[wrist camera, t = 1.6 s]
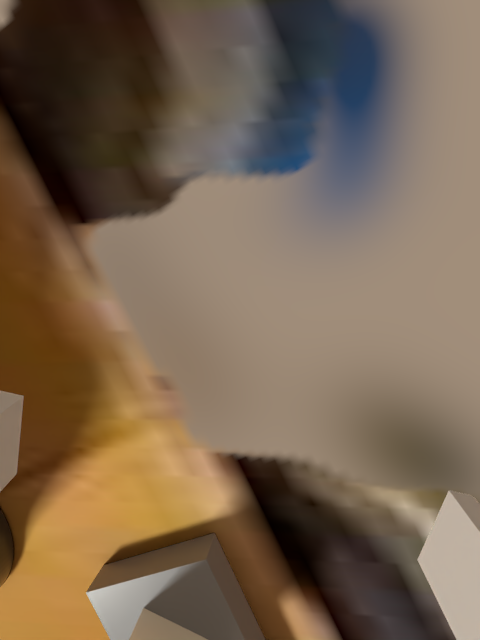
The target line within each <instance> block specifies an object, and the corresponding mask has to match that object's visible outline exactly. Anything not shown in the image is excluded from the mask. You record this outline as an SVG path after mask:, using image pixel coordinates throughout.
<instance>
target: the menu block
mask: <svg viewBox="0 0 480 640" xmlns="http://www.w3.org/2000/svg"><path fill="white" fill-rule="evenodd" d="M129 640H208V639H206V638H204V637H202V636H200V635H198V634H196V633H194V632H192V631H190V630H188V629H185V628H183V627H181V626H179V625H177V624H175V623H173V622H171V621H169V620H167V619H165V618H163V617H161V616H159V615H157V614H155V613H153V612H151V611H149V610H147V609H145V608H143V610H142V612H141V614H140V617H139V619H138V621H137V623H136V625H135V628H134V630H133V632H132V634H131V637H130V639H129Z"/></svg>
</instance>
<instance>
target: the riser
mask: <svg viewBox="0 0 480 640" xmlns="http://www.w3.org/2000/svg"><path fill="white" fill-rule="evenodd" d="M86 594H87V596H88V598H89V599H90V601H91V603H92V605H93V607H94V609H95V611H96V613H97V615H98V617H99V619H100V621H101V623H102V624H103V626H104V628H105V630H106V632H107V634H108V636H109V638H110V640H129V639H130V637H131V634H132V632H133V630H134V628H135V625H136V623H137V621H138V619H139V617H140V614H141V612H142V610H143V608H145V609H147V610H149V611H151V612H153V613H155V614H157V615H159V616H161V617H163V618H165V619H167V620H169V621H171V622H173V623H175V624H177V625H179V626H181V627H183V628H185V629H188V630H190V631H192V632H194V633H196V634H198V635H200V636H202V637H204V638H206V639H208V640H265V638H264V635H263V633H262V631H261V629H260V627H259V625H258V623H257V621H256V619H255V617H254V614H253V612H252V610H251V608H250V606H249V604H248V602H247V600H246V598H245V596H244V593H243V591H242V589H241V587H240V585H239V583H238V581H237V579H236V577H235V575H234V573H233V570H232V568H231V566H230V564H229V562H228V560H227V558H226V556H225V554H224V552H223V549H222V547H221V545H220V543H219V541H218V539H217V537H216V535H215V533H212V534H209V535H205V536H202V537H199V538H195V539H192V540H188V541H185V542H181V543H178V544H175V545H171V546H168V547H164V548H161V549H157V550H154V551H151V552H147V553H144V554H140V555H137V556H133V557H130V558H127V559H123V560H120V561H116V562H113V563H109V564H106V565H103V567H102V568H101V570H100V572H99V573H98V575H97V576H96V578H95V579H94V581H93V582H92V584H91V586H90V587H89V589H88V590H87V592H86Z"/></svg>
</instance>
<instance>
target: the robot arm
mask: <svg viewBox="0 0 480 640" xmlns="http://www.w3.org/2000/svg"><path fill="white" fill-rule="evenodd" d="M23 400H24V396H23V395H18V394H14V393H9V392H5V391H0V492H1V490H2V489H3V488H4V487H5V486H6V485H7V484H8V483H9V482H10V481H11V480H12V478H13V477H14V476H15V475H16V474H17V467H18V456H19V445H20V433H21V422H22V411H23ZM13 553H14V550H13V540H12V535H11V532H10V528H9V526H8V523H7V521H6V519H5V517H4V515H3V513H2V511H1V510H0V587H1V585H2V584H3V583H4V582H5V580H6V579H7V577H8V575H9V573H10V570H11V567H12V563H13ZM418 562H419V564H420V566H421V568H422V570H423V572H424V574H425V576H426V578H427V580H428V582H429V584H430V586H431V588H432V590H433V593H434V595H435V597H436V599H437V601H438V603H439V605H440V607H441V609H442V611H443V613H444V615H445V617H446V619H447V621H448V623H449V625H450V627H451V629H452V631H453V633H454V635H455V637H456V639H457V640H480V504H479V503H478V501H477V500H476V499H475V498H474V496H473V495H468V494H464V493H459V492H455V491H450V490H449V491H448V494H447V496H446V498H445V500H444V502H443V505H442V507H441V509H440V511H439V513H438V516H437V518H436V520H435V522H434V524H433V527H432V529H431V531H430V533H429V535H428V538H427V540H426V542H425V544H424V547H423V549H422V551H421V553H420V555H419V558H418Z"/></svg>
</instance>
